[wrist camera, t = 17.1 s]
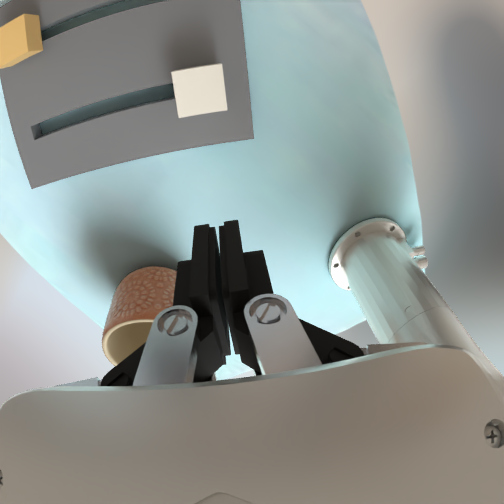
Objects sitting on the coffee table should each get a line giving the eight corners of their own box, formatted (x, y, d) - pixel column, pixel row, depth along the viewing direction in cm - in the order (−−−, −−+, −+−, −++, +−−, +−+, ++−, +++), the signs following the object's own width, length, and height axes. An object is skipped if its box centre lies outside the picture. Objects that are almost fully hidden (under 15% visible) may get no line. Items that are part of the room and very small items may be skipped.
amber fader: (49, 16, 18) (23, 13, 13) (53, 49, 20) (28, 51, 16) (18, 32, 17) (-10, 33, 13) (23, 64, 20) (-5, 69, 16)
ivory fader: (218, 62, 25) (222, 63, 21) (223, 100, 27) (227, 110, 23) (176, 69, 25) (171, 72, 20) (182, 107, 27) (178, 118, 23)
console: (230, -60, 17) (232, -66, 15) (250, 133, 30) (254, 138, 29) (2, 12, 15) (-8, 12, 14) (38, 181, 29) (31, 189, 27)
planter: (98, 281, 39) (80, 344, 30) (165, 236, 36) (157, 301, 28) (155, 329, 46) (152, 389, 37) (220, 296, 43) (228, 360, 35)
